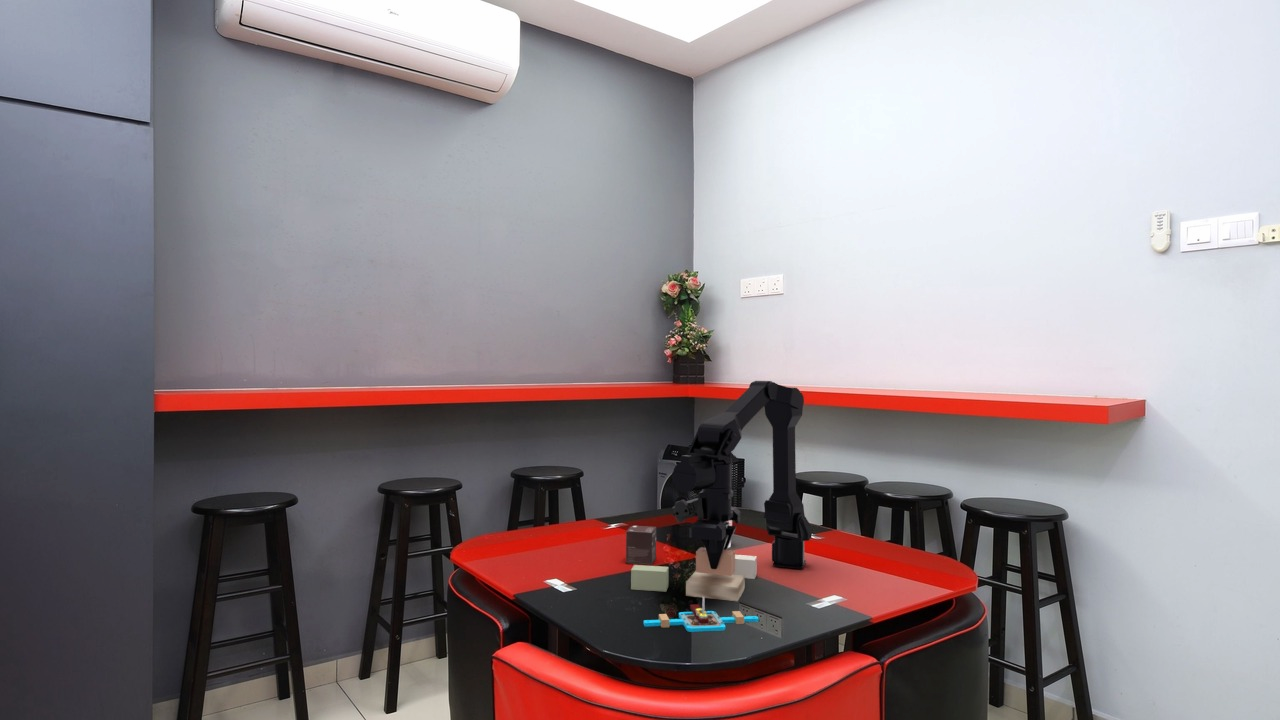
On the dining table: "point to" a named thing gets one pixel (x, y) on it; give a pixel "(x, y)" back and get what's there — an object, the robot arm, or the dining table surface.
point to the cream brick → (746, 566)
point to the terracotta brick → (724, 566)
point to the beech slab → (715, 586)
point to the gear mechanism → (701, 619)
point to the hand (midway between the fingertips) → (716, 566)
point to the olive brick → (649, 578)
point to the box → (641, 545)
